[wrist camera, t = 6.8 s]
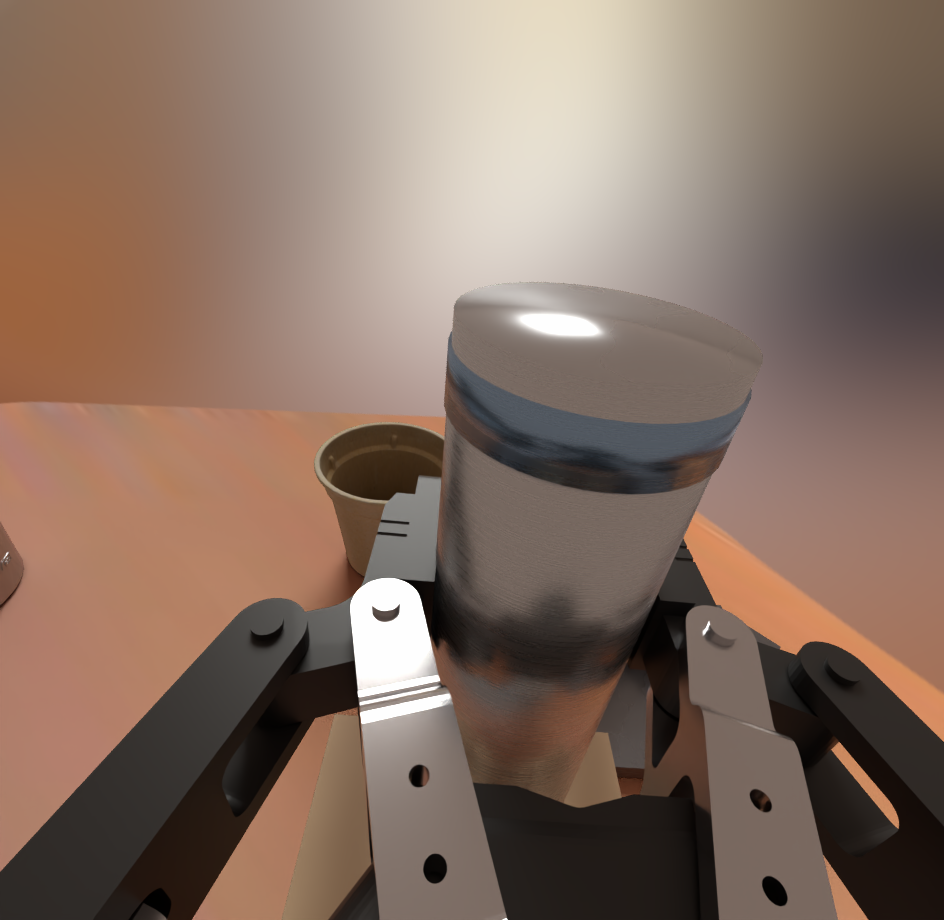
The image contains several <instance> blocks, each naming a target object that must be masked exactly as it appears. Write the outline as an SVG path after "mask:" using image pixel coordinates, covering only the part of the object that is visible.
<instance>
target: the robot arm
mask: <svg viewBox="0 0 944 920" xmlns="http://www.w3.org/2000/svg"><path fill="white" fill-rule="evenodd" d="M440 491H441V477H433V476H422V475H419V478H418V482H417V487H416V492H415V494H405V493H396V494H395V495H394V496H393V497H392V498H391V499H390V500H389V501H388V502H387V503H386V504H385V506H384V510H383V514H382V517H381V522H380V524H379V528H378V531H377V535H376V539H375V542H374V546H373V549H372V553H371V557H370V560H369V564H368V567H367V571H366V574H365V578H364V581H363V583H362V585H361V587H360V589H359V590H358V591H357V592H356V593H355V594H354V595H353V596H352V597H350V598H349V599H347V600H346V601H344V602H342V603H340V604H338V605H335V606H332V607H328V608H323V609H317V610H312V611H307V612H305V611H304V609H303V608H302V607H301V606H300V605H299V604H297V603H296V602H294V601H291V600H288V599H283V598H272V599H266V600H262V601H259V602H256V603H254V604H252V605H250V606H248V607H247V608H245V609H244V610H243V611H241V612H240V613H239V614H238V615H237V616H236V617H235V618H234V619H233V620H232V621H231V622H230V624H229V625H228V626H227V627H226V628H225V629H224V630H223V631H222V632H221V633H220V634H219V635H218V637H217V638H216V639H215V640H214V641H213V642H212V643H211V644H210V645H209V646H208V647H207V648H206V650H205V651H204V652H203V653H202V654H201V655H200V656H199V657H198V658H197V659H196V660H195V661H194V663H193V664H192V665H191V666H190V667H189V668H188V669H187V670H186V671H185V672H184V673H183V674H182V676H181V677H180V678H179V679H178V680H177V681H176V682H175V683H174V684H173V685H172V686H171V687H170V689H169V690H168V691H167V692H166V693H165V694H164V695H163V696H162V697H161V698H160V699H159V700H158V702H157V703H156V704H155V705H154V706H153V707H152V708H151V709H150V710H149V711H148V712H147V713H146V715H145V716H144V717H143V718H142V719H141V720H140V721H139V722H138V723H137V724H136V725H135V726H134V728H133V729H132V730H131V731H130V732H129V733H128V734H127V735H126V736H125V737H124V738H123V739H122V741H121V742H120V743H119V744H118V745H117V746H116V747H115V748H114V749H113V750H112V751H111V753H110V754H109V755H108V756H107V757H106V758H105V759H104V760H103V761H102V762H101V763H100V764H99V766H98V767H97V768H96V769H95V770H94V771H93V772H92V773H91V774H90V775H89V776H88V777H87V779H86V780H85V781H84V782H83V783H82V784H81V785H80V786H79V787H78V788H77V789H76V790H75V792H74V793H73V794H72V795H71V796H70V797H69V798H68V799H67V800H66V801H65V802H64V803H63V805H62V806H61V807H60V808H59V809H58V810H57V811H56V812H55V813H54V814H53V815H52V816H51V818H50V819H49V820H48V821H47V822H46V823H45V824H44V825H43V826H42V827H41V828H40V829H39V831H38V832H37V833H36V834H35V835H34V836H33V837H32V838H31V839H30V840H29V841H28V842H27V844H26V845H25V846H24V847H23V848H22V849H21V850H20V851H19V852H18V853H17V854H16V855H15V857H14V858H13V859H12V860H11V861H10V862H9V863H8V864H7V865H6V866H5V867H4V868H3V870H2V871H1V872H0V920H192V919H193V917H194V915H195V914H196V912H197V910H198V909H199V907H200V905H201V904H202V902H203V901H204V899H205V897H206V896H207V894H208V892H209V891H210V889H211V887H212V886H213V884H214V883H215V881H216V879H217V878H218V876H219V874H220V873H221V871H222V869H223V868H224V866H225V865H226V863H227V861H228V860H229V858H230V856H231V855H232V853H233V851H234V850H235V848H236V847H237V845H238V843H239V842H240V840H241V838H242V837H243V835H244V833H245V832H246V830H247V829H248V827H249V825H250V824H251V822H252V820H253V819H254V817H255V816H256V814H257V812H258V811H259V809H260V807H261V806H262V804H263V802H264V801H265V799H266V798H267V796H268V794H269V793H270V791H271V789H272V788H273V786H274V784H275V783H276V781H277V780H278V778H279V776H280V775H281V773H282V771H283V770H284V768H285V766H286V765H287V763H288V762H289V760H290V758H291V757H292V755H293V753H294V752H295V750H296V748H297V747H298V745H299V744H300V742H301V740H302V739H303V737H304V735H305V734H306V732H307V730H308V729H309V727H310V726H311V724H312V722H313V721H314V719H315V718H317V717H321V716H325V715H329V714H333V713H337V712H341V711H345V710H348V709H352V708H356V707H357V710H358V721H359V732H360V744H361V755H362V767H363V778H364V791H365V804H366V816H367V828H368V840H369V851H370V862H371V864H370V866H369V867H368V868H367V870H366V871H365V872H364V874H363V875H362V876H361V877H360V879H359V880H358V881H357V883H356V884H355V885H354V887H353V888H352V889H351V890H350V892H349V893H348V894H347V896H346V897H345V898H344V899H343V901H342V902H341V903H340V905H339V906H338V907H337V909H336V910H335V911H334V912H333V914H332V915H331V916H330V918H329V919H328V920H838V918H837V913H836V909H835V905H834V900H833V896H832V892H831V887H830V883H829V879H828V875H827V870H826V866H825V862H824V857H823V855H824V856H825V858H826V859H827V861H828V862H829V864H830V865H831V866H832V868H833V869H834V871H835V872H836V874H837V875H838V877H839V878H840V879H841V881H842V882H843V884H844V885H845V887H846V888H847V889H848V891H849V892H850V894H851V895H852V897H853V898H854V900H855V901H856V902H857V904H858V905H859V907H860V908H861V910H862V911H863V912H864V914H865V915H866V917H867V918H868V920H944V742H943V741H942V740H941V739H940V738H939V737H938V736H937V735H936V734H935V733H934V732H933V731H932V730H931V729H930V728H929V727H928V726H927V725H926V724H925V723H924V722H923V721H922V720H921V719H920V718H919V717H918V716H917V715H916V714H915V713H914V712H913V711H912V710H911V709H910V708H909V707H908V706H907V705H906V704H905V703H904V702H903V701H901V700H900V699H899V698H898V697H897V696H896V695H895V694H894V693H893V692H892V691H891V690H890V689H889V688H888V687H887V686H886V685H885V684H884V683H883V682H882V681H881V680H880V679H879V678H878V677H877V676H876V675H875V674H874V673H873V672H872V671H871V670H870V669H869V668H868V667H867V666H866V665H865V664H864V663H862V662H861V661H860V660H859V659H858V658H856V657H855V656H854V655H852V654H850V653H849V652H847V651H845V650H843V649H842V648H839V647H837V646H835V645H832V644H829V643H825V642H809V643H806V644H805V645H804V646H803V647H802V648H801V649H800V651H799V652H798V653H797V655H795V654H792V653H789V652H786V651H783V650H780V649H777V648H774V647H771V646H768V645H766V644H763V643H760V642H757V641H756V638H755V636H754V634H753V633H752V631H751V630H750V629H749V627H748V626H747V625H746V624H745V623H744V622H743V621H742V620H740V619H739V618H738V617H736V616H735V615H733V614H732V613H730V612H728V611H726V610H724V609H721V608H718V607H717V606H716V604H715V602H714V600H713V598H712V596H711V594H710V592H709V590H708V588H707V586H706V584H705V582H704V580H703V578H702V576H701V573H700V571H699V569H698V567H697V565H696V563H695V562H693V557H692V555H691V553H690V551H689V549H687V545H686V543H685V541H684V539H683V540H682V542H681V544H680V546H679V549H678V551H677V553H676V555H675V557H674V560H673V562H672V564H671V566H670V568H669V571H668V573H667V575H666V577H665V580H664V582H663V584H662V586H661V588H660V591H659V593H658V595H657V597H656V599H655V602H654V604H653V606H652V608H651V611H650V613H649V615H648V617H647V619H646V622H645V624H644V626H643V628H642V630H641V633H640V635H639V637H638V639H637V642H636V644H635V646H634V648H633V650H632V653H631V655H630V657H629V659H628V661H627V664H628V667H629V669H635V670H646V671H647V675H648V678H649V681H650V687H649V689H648V692H647V702H646V735H645V769H644V779H643V785H642V789H641V792H640V795H636V794H634V795H630V796H626V797H622V798H618V799H614V800H611V801H607V802H603V803H599V804H595V805H591V806H587V807H581V808H579V807H573V806H570V805H568V804H565V803H562V802H559V801H557V800H554V799H551V798H549V797H546V796H543V795H540V794H538V793H535V792H532V791H529V790H527V789H524V788H521V787H519V786H511V785H498V784H484V783H473V782H472V778H471V774H470V770H469V766H468V762H467V758H466V754H465V750H464V746H463V742H462V738H461V734H460V730H459V726H458V722H457V719H456V715H455V711H454V707H453V703H452V699H451V696H450V693H449V690H448V688H447V686H446V685H442V684H441V682H440V679H439V675H438V671H437V667H436V662H435V658H434V654H433V650H432V646H431V642H430V640H431V629H432V616H433V603H434V590H435V577H436V564H437V563H436V544H437V531H438V518H439V504H440ZM23 570H24V566H23V561H22V558H21V557H20V555H19V553H18V551H17V550H16V548H15V546H14V544H13V543H12V541H11V539H10V538H9V536H8V534H7V532H6V531H5V529H4V527H3V525H2V524H1V522H0V605H1V604H2V603H3V602H4V601H5V600H6V599H7V598H8V597H9V596H10V595H11V594H12V592H13V591H14V590H15V589H16V587H17V585H18V583H19V582H20V580H21V578H22V574H23ZM838 742H840V743H841V744H842V745H843V747H844V748H845V749H846V750H847V751H848V753H849V754H850V755H851V756H852V757H853V758H854V760H855V761H856V762H857V763H858V764H859V765H860V767H861V768H862V769H863V770H864V771H865V773H866V774H867V775H868V776H869V777H870V778H871V780H872V781H873V782H874V783H875V784H876V785H877V787H878V788H879V789H880V790H881V791H882V793H883V794H884V795H885V796H886V797H887V798H888V800H889V801H890V802H891V804H892V805H893V807H894V809H895V811H896V813H897V815H898V819H899V829H898V828H896V827H895V826H894V825H893V824H892V823H891V822H890V821H889V820H888V818H887V817H886V816H885V815H884V813H883V812H882V811H881V810H880V809H879V807H878V806H877V805H876V804H875V803H874V801H873V800H872V799H871V798H870V796H869V795H868V794H867V793H866V792H865V790H864V789H863V788H862V787H861V786H860V784H859V783H858V782H857V781H856V780H855V778H854V777H853V776H852V775H851V773H850V772H849V771H848V770H847V769H846V767H845V766H844V765H843V764H842V763H841V761H840V760H839V759H838V758H837V757H836V755H835V754H834V753H833V752H832V750H831V749H832V748H833V747H834V746H835V745H836V744H837V743H838Z"/></svg>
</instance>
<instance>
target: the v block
mask: <svg viewBox="0 0 944 920" xmlns="http://www.w3.org/2000/svg"><path fill="white" fill-rule="evenodd" d="M716 606H717V607H718V608H721V609H722V607H721V605H716ZM749 629H750V630H751V631H752V633H753V634H754V636H755V638H756V641H757V642H760V643H763V644H766V645H768V646H771V647H774V648H777V649H780V646H778V645H777V644H775V643H774V642H772V641H771V640H769V639H767V638H766V637H764V636H763V635H761V634H760V633H758V632H756V631H755V630H753V629H752V628H750V627H749ZM649 687H650V681H649V678H648V675H647V671H646V670H635V669H629V667H628V664H626V666H625V668H624V670H623V673H622V675H621V677H620V679H619V681H618V684H617V686H616V688H615V690H614V692H613V695H612V697H611V699H610V701H609V704H608V706H607V708H606V710H605V712H604V715H603V717H602V719H601V721H600V723H599V726H598V728H597V730H596V732H603V733H608V736H609V741H610V745H611V750H612V755H613V759H614V764H615V769H616V773H617V777H627V778H642V779H644V769H645V735H646V702H647V692H648V689H649Z"/></svg>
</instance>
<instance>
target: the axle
mask: <svg viewBox="0 0 944 920" xmlns="http://www.w3.org/2000/svg"><path fill="white" fill-rule="evenodd" d="M762 362H763V355H762V353H761V351H760V349H759V347H758V346H757V345H756V344H755V343H754V342H753V341H752V340H751V339H750V338H748V337H747V336H746V335H744V334H743V333H741V332H740V331H738V330H737V329H735V328H733V327H731V326H729V325H728V324H726V323H723V322H721V321H719V320H717V319H715V318H713V317H710V316H708V315H705V314H703V313H700V312H697V311H694V310H692V309H689V308H686V307H683V306H680V305H676V304H673V303H670V302H666V301H663V300H659V299H655V298H651V297H647V296H642V295H637V294H633V293H629V292H623V291H618V290H612V289H606V288H599V287H593V286H584V285H576V284H565V283H548V282H519V283H505V284H496V285H490V286H485V287H482V288H477V289H474V290H472V291H470V292H467V293H465V294H464V295H462V296H461V297H460V298H459V299H458V300H457V301H456V303H455V305H454V316H453V330H452V332H451V334H450V337H449V340H448V354H447V367H446V368H447V369H446V381H445V397H444V407H445V411H446V423H445V437H444V450H443V464H442V477H441V491H440V504H439V518H438V531H437V544H436V563H437V564H436V577H435V590H434V603H433V616H432V629H431V640H430V642H431V646H432V650H433V654H434V658H435V662H436V667H437V671H438V675H439V679H440V682H441V684H442V685H446V686H447V688H448V690H449V693H450V696H451V699H452V703H453V707H454V711H455V715H456V719H457V722H458V726H459V730H460V734H461V738H462V742H463V746H464V750H465V754H466V758H467V762H468V766H469V770H470V774H471V778H472V782H473V783H484V784H498V785H511V786H519V787H521V788H524V789H527V790H529V791H532V792H535V793H538V794H540V795H543V796H546V797H549V798H551V799H554V800H557V801H559V802H562V803H564V801H565V799H566V797H567V794H568V792H569V790H570V788H571V785H572V783H573V781H574V779H575V777H576V774H577V772H578V770H579V768H580V766H581V763H582V761H583V759H584V757H585V754H586V752H587V750H588V748H589V746H590V743H591V741H592V739H593V737H594V735H595V732H596V730H597V728H598V726H599V723H600V721H601V719H602V717H603V715H604V712H605V710H606V708H607V706H608V704H609V701H610V699H611V697H612V695H613V692H614V690H615V688H616V686H617V684H618V681H619V679H620V677H621V675H622V673H623V670H624V668H625V666H626V664H627V661H628V659H629V657H630V655H631V653H632V650H633V648H634V646H635V644H636V642H637V639H638V637H639V635H640V633H641V630H642V628H643V626H644V624H645V622H646V619H647V617H648V615H649V613H650V611H651V608H652V606H653V604H654V602H655V599H656V597H657V595H658V593H659V591H660V588H661V586H662V584H663V582H664V580H665V577H666V575H667V573H668V571H669V568H670V566H671V564H672V562H673V560H674V557H675V555H676V553H677V551H678V549H679V546H680V544H681V542H682V540H683V537H684V535H685V533H686V531H687V529H688V526H689V524H690V522H691V520H692V518H693V515H694V513H695V511H696V509H697V506H698V504H699V502H700V500H701V497H702V495H703V493H704V491H705V489H706V487H707V484H708V482H709V480H710V478H711V475H712V474H713V473H714V472H715V471H716V470H717V469H718V468H719V466H720V464H721V462H722V460H723V458H724V456H725V454H726V451H727V449H728V447H729V445H730V443H731V441H732V438H733V436H734V434H735V432H736V429H737V427H738V425H739V423H740V421H741V418H742V416H743V414H744V412H745V410H746V408H747V406H748V403H749V401H750V399H751V387H752V385H753V382H754V380H755V378H756V376H757V373H758V371H759V369H760V367H761V364H762Z"/></svg>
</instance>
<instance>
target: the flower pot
mask: <svg viewBox="0 0 944 920" xmlns="http://www.w3.org/2000/svg"><path fill="white" fill-rule="evenodd" d="M443 450H444V437H443V436H442V435H440V434H439V433H437V432H434V431H432V430H430V429H427V428H424V427H420V426H416V425H412V424H406V423H399V422H398V423H397V422H380V423H371V424H363V425H359V426H355V427H352V428H349V429H346V430H344V431H342V432H340V433H337V434H336V435H334V436H333V437H331V438H330V439H329V440H327V441H326V442H325V443H324V444H323V445H322V446H321V447H320V449H319V450H318V452H317V454H316V457H315V460H314V469H315V473H316V475H317V478H318V479H319V481H320V482H321V484H322V485H323V486H324V487H325V489H326V491H327V494H328V495H329V497H330V498H331V499H332V500H333V504H334V507H335V511H336V514H337V518H338V522H339V526H340V529H341V533H342V537H343V541H344V545H345V548H346V554H347V557H348V560H349V562H350V564H351V566H352V567H353V568H354V569H355V570H356V571H357V572H358V573H359V574H361V575H362V576H364V577H365V574H366V571H367V567H368V564H369V560H370V557H371V553H372V549H373V546H374V542H375V539H376V535H377V531H378V528H379V524H380V522H381V517H382V514H383V510H384V506H385V504H386V503H387V502H388V501H389V500H390V499H391V498H392V497H393V496H394V495H395V494H396V493H405V494H415V492H416V487H417V482H418V478H419V475H422V476H433V477H442V464H443Z"/></svg>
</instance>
